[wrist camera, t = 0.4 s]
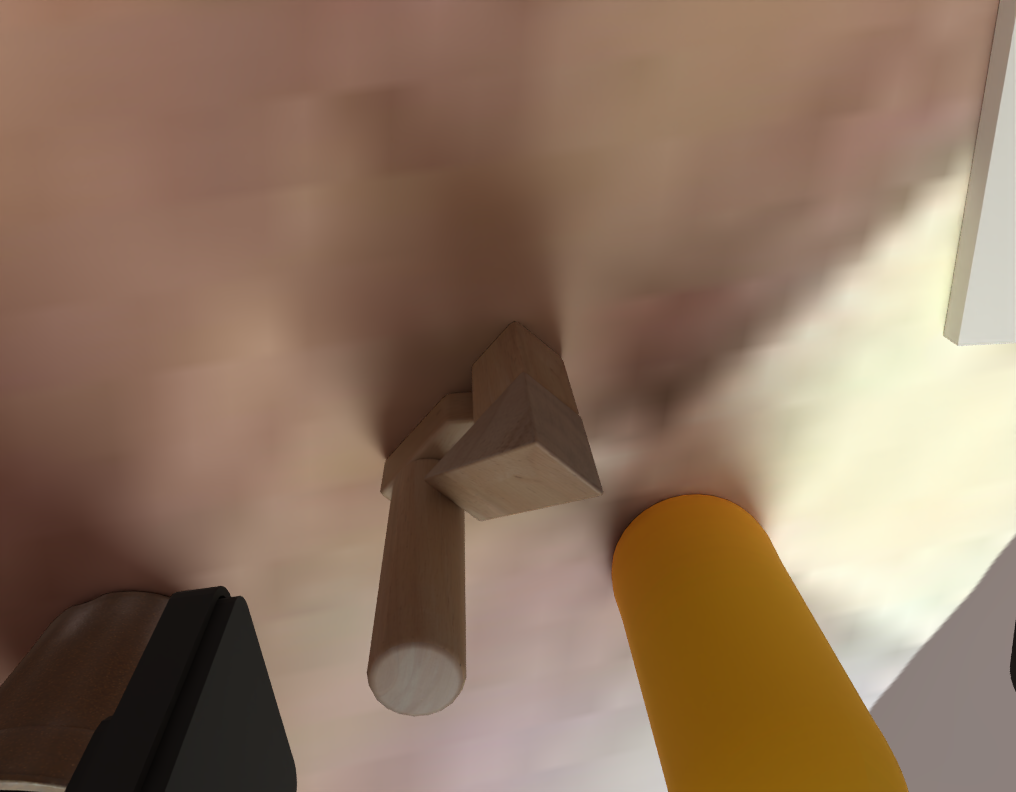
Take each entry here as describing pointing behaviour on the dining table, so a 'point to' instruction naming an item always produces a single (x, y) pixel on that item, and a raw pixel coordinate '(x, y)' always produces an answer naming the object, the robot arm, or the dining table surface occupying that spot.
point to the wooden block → (467, 508)
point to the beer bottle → (738, 661)
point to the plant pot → (70, 687)
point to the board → (990, 208)
